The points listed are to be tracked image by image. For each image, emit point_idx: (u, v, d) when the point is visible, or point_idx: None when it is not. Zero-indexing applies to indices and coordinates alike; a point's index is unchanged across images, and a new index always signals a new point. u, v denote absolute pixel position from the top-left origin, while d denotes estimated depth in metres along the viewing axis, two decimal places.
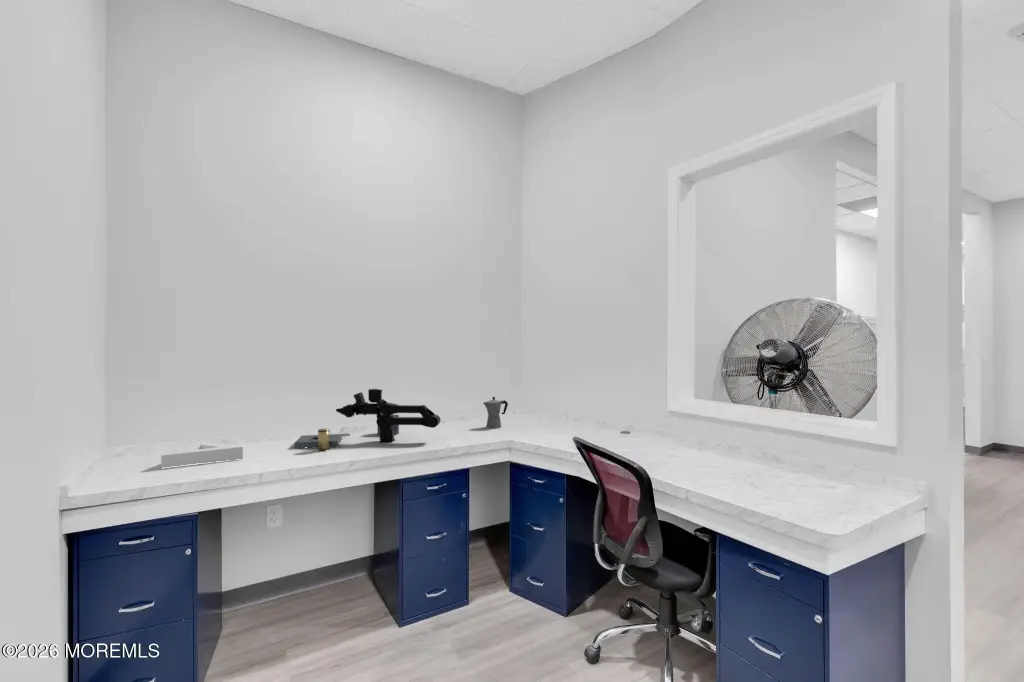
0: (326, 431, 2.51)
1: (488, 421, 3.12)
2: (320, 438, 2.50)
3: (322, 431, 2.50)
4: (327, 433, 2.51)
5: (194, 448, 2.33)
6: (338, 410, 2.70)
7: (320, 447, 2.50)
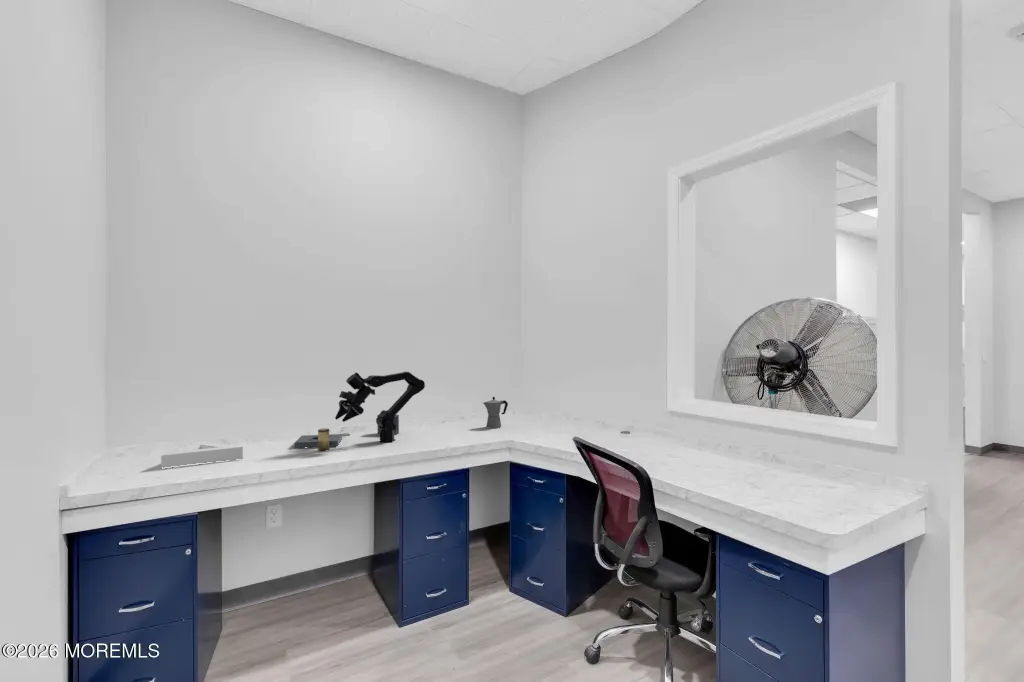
0: (326, 431, 2.51)
1: (488, 421, 3.12)
2: (320, 438, 2.50)
3: (322, 431, 2.50)
4: (327, 433, 2.51)
5: (194, 448, 2.33)
6: (345, 419, 2.54)
7: (320, 447, 2.50)
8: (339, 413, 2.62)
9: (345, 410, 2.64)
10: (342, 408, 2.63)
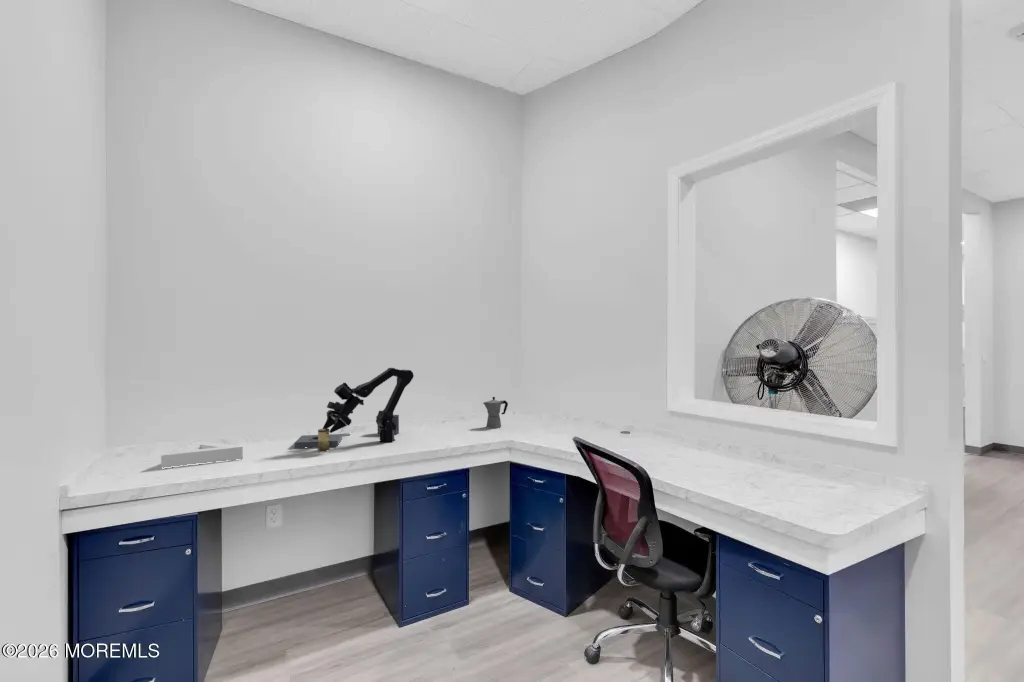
0: (326, 431, 2.51)
1: (488, 421, 3.12)
2: (320, 438, 2.50)
3: (322, 431, 2.50)
4: (327, 433, 2.51)
5: (194, 448, 2.33)
6: (333, 430, 2.50)
7: (320, 447, 2.50)
8: (327, 424, 2.58)
9: (333, 421, 2.60)
10: (330, 419, 2.59)
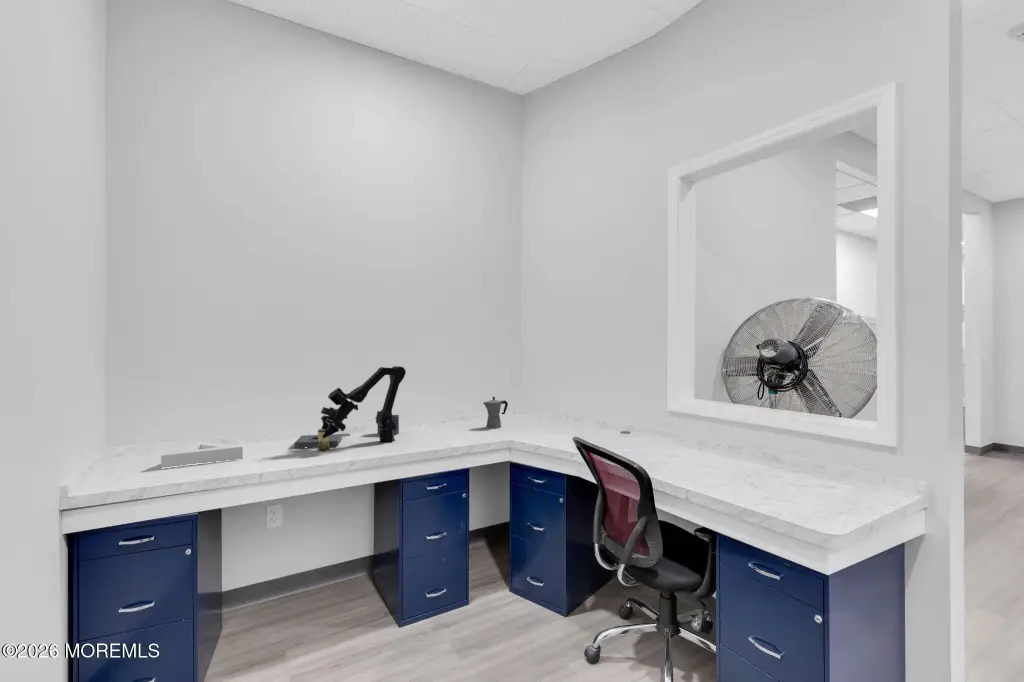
0: None
1: (488, 421, 3.12)
2: (320, 438, 2.50)
3: (322, 431, 2.50)
4: None
5: (194, 448, 2.33)
6: (325, 435, 2.50)
7: (320, 447, 2.50)
8: None
9: (329, 427, 2.57)
10: (325, 425, 2.56)
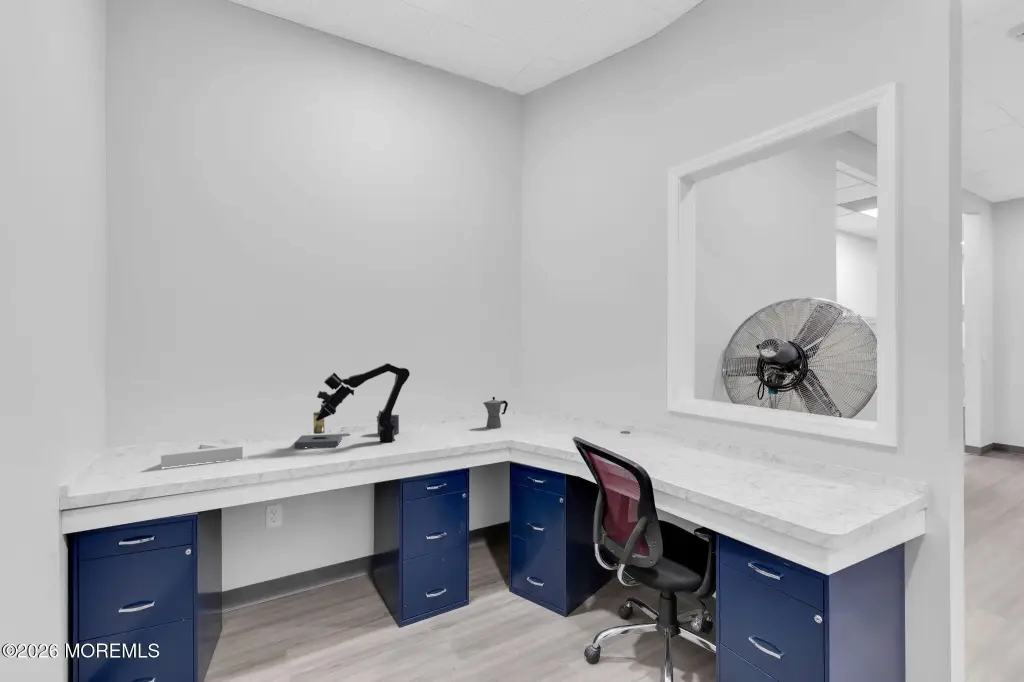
0: None
1: (488, 421, 3.12)
2: (314, 421, 2.58)
3: (316, 414, 2.58)
4: None
5: (194, 448, 2.33)
6: (318, 418, 2.57)
7: (314, 429, 2.58)
8: None
9: None
10: None
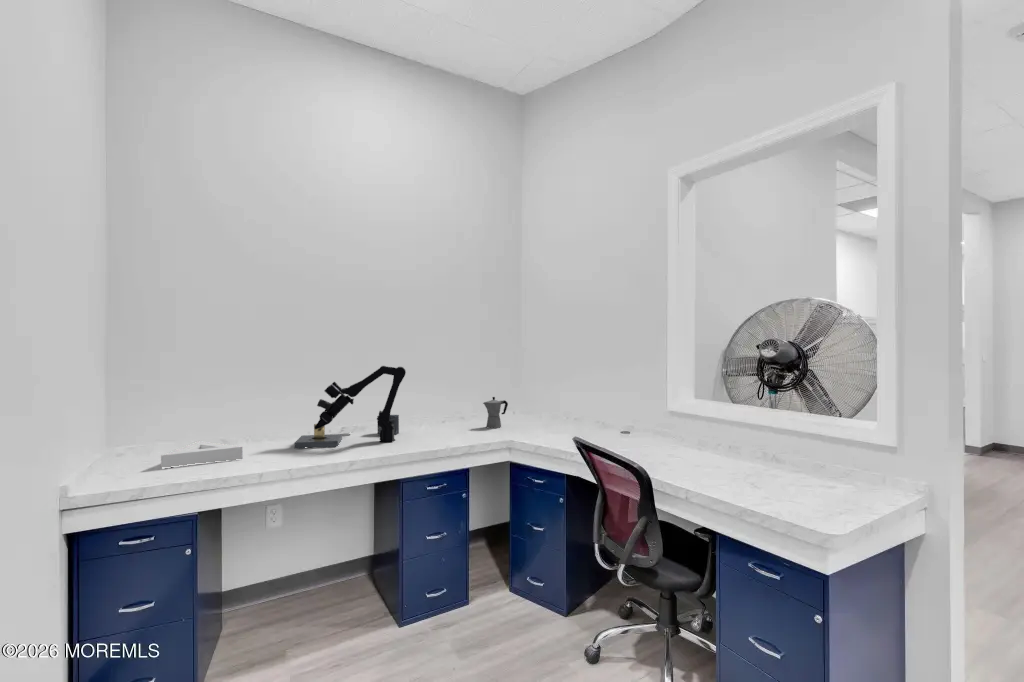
0: None
1: (488, 421, 3.12)
2: (314, 432, 2.65)
3: None
4: (320, 428, 2.65)
5: (194, 448, 2.33)
6: (317, 426, 2.61)
7: None
8: None
9: None
10: None
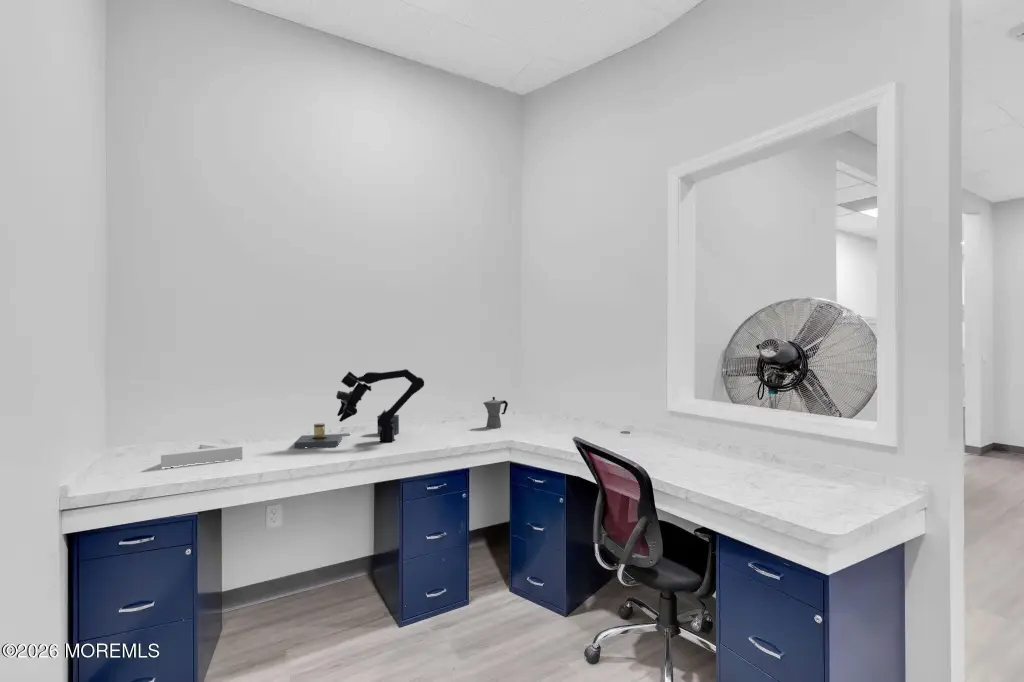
0: (319, 426, 2.64)
1: (488, 421, 3.12)
2: (314, 432, 2.65)
3: (315, 426, 2.64)
4: (320, 428, 2.65)
5: (194, 448, 2.33)
6: (342, 419, 2.64)
7: None
8: (340, 410, 2.73)
9: None
10: (343, 405, 2.73)
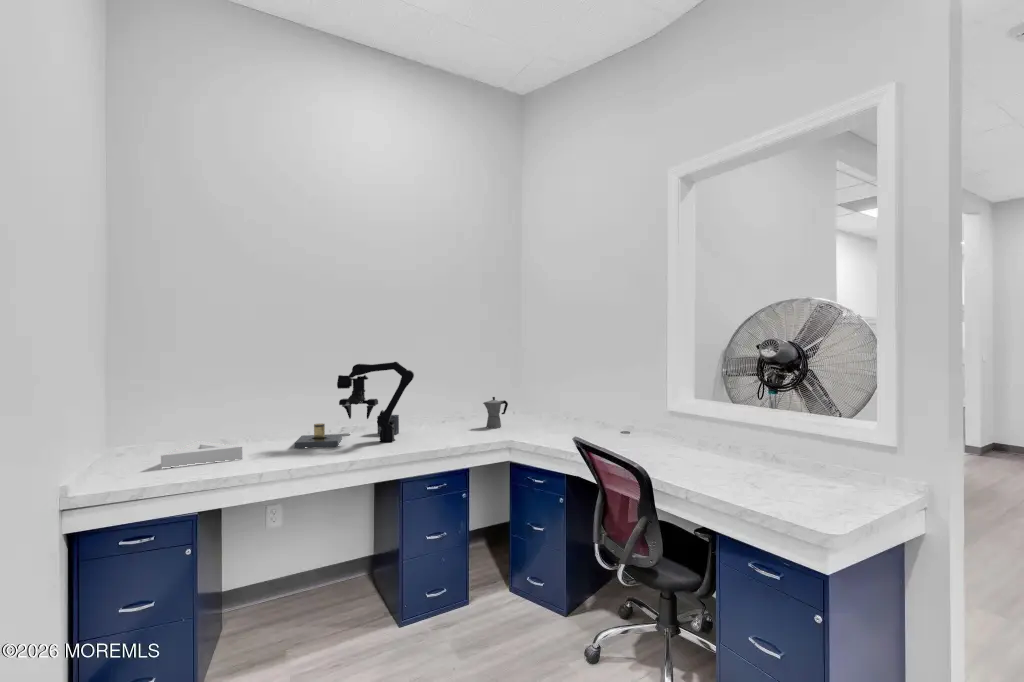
0: (319, 426, 2.64)
1: (488, 421, 3.12)
2: (314, 432, 2.65)
3: (315, 426, 2.64)
4: (320, 428, 2.65)
5: (194, 448, 2.33)
6: (368, 415, 2.71)
7: None
8: (349, 412, 2.71)
9: (350, 406, 2.73)
10: (348, 407, 2.71)
